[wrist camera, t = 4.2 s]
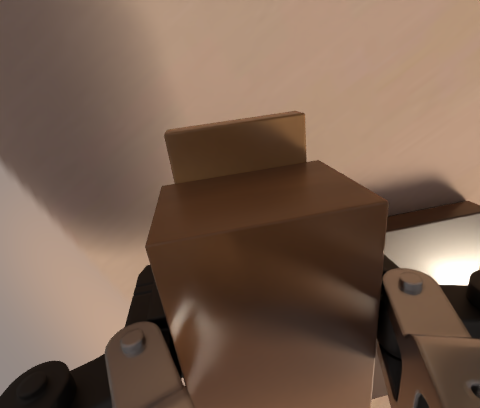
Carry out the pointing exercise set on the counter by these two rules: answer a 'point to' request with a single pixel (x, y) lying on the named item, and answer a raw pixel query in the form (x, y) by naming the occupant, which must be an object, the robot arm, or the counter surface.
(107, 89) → the counter surface
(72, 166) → the counter surface
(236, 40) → the counter surface
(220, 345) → the stepped wooden block
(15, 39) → the counter surface
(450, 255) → the board
